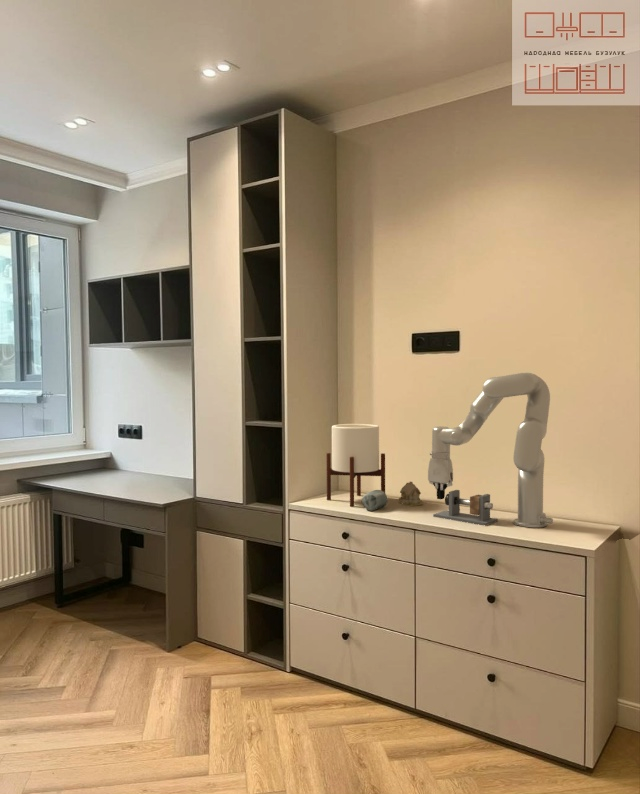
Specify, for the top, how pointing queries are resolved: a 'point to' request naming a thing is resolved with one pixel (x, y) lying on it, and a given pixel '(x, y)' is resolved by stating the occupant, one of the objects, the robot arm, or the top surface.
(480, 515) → the grey bearing stand
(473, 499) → the block
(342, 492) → the top surface
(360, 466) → the plant pot with stand
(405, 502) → the ceramic model
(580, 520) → the top surface
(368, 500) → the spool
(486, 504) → the shaft
